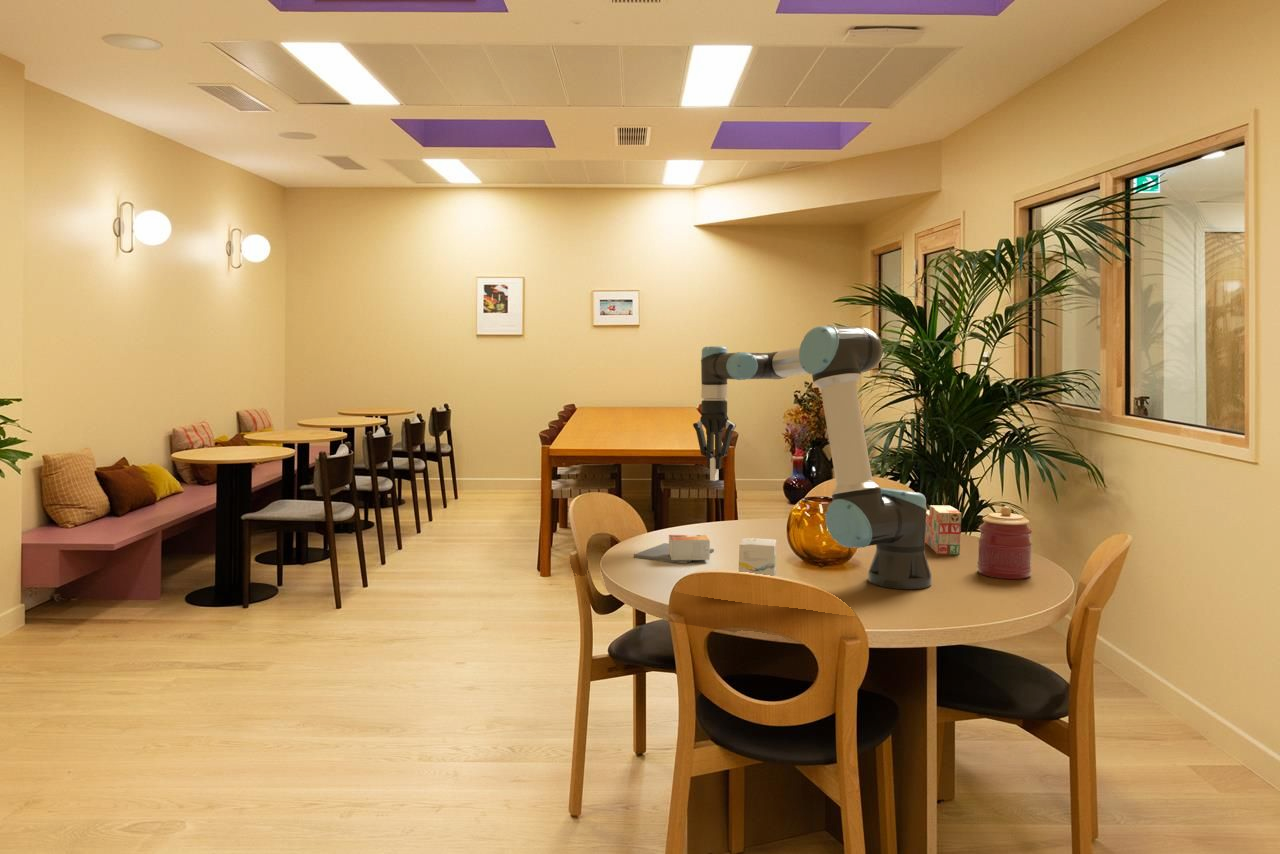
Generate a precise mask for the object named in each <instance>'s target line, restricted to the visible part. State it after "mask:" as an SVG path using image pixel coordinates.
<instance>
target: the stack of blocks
mask: <svg viewBox="0 0 1280 854" xmlns="http://www.w3.org/2000/svg"><path fill="white" fill-rule="evenodd" d="M961 531H962V512H960V511H959V510H958V509H957V508H955V507H953V506H951V505H937V504H936V505H934V504H933V505H932V504H931V505H929V509H927V512H926V534H925V544H926V545H928V546H929V548H930V549H932V550H933V551H934V552H935V554H937V555H957V556H958V555H961V554H960V553H961V551H960V550H961V544H960V543H961Z"/></svg>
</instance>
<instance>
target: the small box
mask: <svg viewBox="0 0 1280 854" xmlns="http://www.w3.org/2000/svg"><path fill="white" fill-rule="evenodd" d="M710 543H711V540H710V539H709V537H708V536H707V534H668V544H669V555H670V557H671V560H693V561H710V557H711V555H710V554H711V553H710V549H711V548H710V547H711V545H710Z"/></svg>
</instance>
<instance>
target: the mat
mask: <svg viewBox="0 0 1280 854" xmlns="http://www.w3.org/2000/svg"><path fill="white" fill-rule="evenodd" d="M711 552H712V553H714V552H715V549H714V548H710V554H712V553H711ZM633 558H638V559H644V560H652V559H653V561H659V560H661V561H662V562H667V561H669V562H668V563H675V562H680V563H679V564H683V563H686V564H688V563H687V562H689V561H691V560H671V557H670V555H669V542H668V543H667V542H666V543H665V542H664V543H662V544H659V545H656V546H653V547H651V548H647V549H645V550H641V551H640V552H639V551H638V552H637V553H634V554H633ZM661 561H660V562H661ZM681 562H682V563H681ZM691 562H692V561H691ZM689 563H690V562H689Z"/></svg>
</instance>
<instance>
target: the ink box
mask: <svg viewBox="0 0 1280 854" xmlns="http://www.w3.org/2000/svg"><path fill="white" fill-rule="evenodd" d="M738 552H739V553H738V573H739V572H749V573H755V574H763V575H770V576H776V575H777V569H776V568H777V539H776V538H775V539H772V538H757V537H749V538H748V537H747V538H745V537H743V538H742V539H741V541H740V543H739V551H738Z"/></svg>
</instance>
